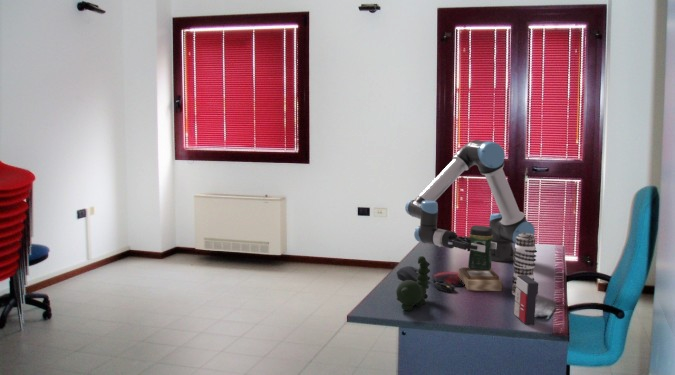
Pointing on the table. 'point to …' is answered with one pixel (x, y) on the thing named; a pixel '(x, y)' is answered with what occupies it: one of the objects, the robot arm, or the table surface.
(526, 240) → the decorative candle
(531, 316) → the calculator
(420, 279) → the toy figurine
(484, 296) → the table surface
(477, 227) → the coffee jar
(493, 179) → the robot arm
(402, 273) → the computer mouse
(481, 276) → the light brown wooden box
